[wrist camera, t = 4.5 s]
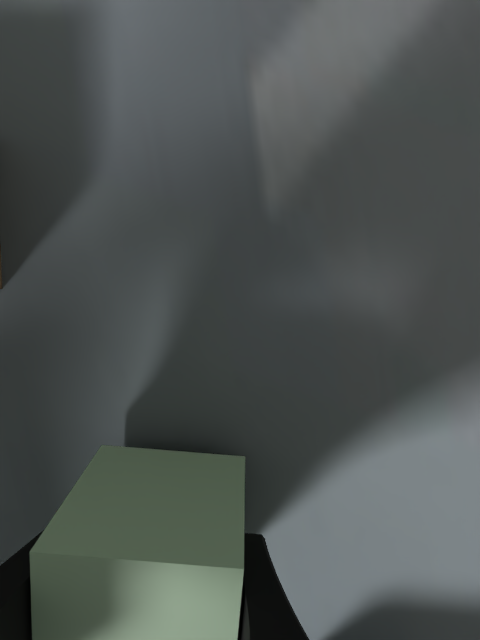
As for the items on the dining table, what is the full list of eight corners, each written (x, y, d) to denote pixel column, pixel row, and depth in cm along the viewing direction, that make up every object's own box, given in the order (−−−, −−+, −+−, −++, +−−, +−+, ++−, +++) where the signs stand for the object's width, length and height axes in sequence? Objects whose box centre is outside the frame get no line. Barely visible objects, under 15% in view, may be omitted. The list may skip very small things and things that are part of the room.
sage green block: (100, 567, 14) (34, 719, 10) (101, 445, 13) (29, 551, 9) (234, 578, 14) (228, 735, 10) (245, 456, 13) (244, 569, 9)
